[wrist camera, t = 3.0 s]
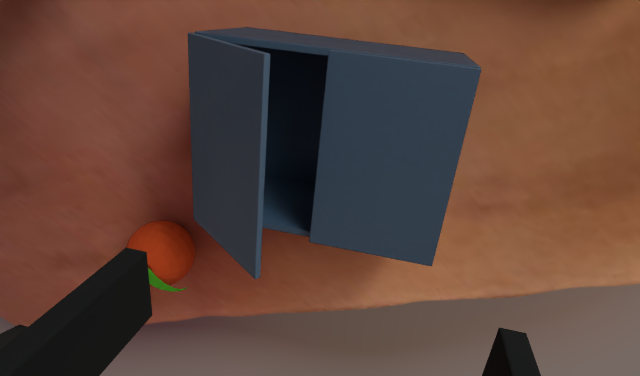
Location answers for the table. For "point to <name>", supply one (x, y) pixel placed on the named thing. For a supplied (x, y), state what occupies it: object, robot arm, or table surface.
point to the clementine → (165, 252)
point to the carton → (361, 139)
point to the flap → (229, 144)
